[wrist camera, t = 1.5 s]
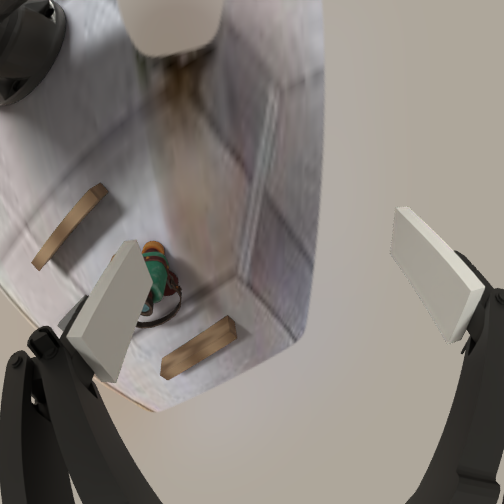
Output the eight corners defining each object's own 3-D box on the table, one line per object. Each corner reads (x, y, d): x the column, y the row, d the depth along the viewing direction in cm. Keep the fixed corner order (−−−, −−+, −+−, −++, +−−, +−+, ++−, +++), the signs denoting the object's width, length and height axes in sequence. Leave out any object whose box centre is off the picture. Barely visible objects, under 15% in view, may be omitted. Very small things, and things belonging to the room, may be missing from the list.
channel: (169, 363, 40) (167, 380, 37) (43, 250, 30) (31, 262, 27) (234, 321, 38) (237, 338, 35) (100, 182, 28) (89, 189, 25)
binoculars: (124, 371, 27) (72, 307, 22) (134, 310, 36) (99, 251, 31) (196, 355, 28) (152, 282, 22) (193, 292, 37) (163, 227, 31)
